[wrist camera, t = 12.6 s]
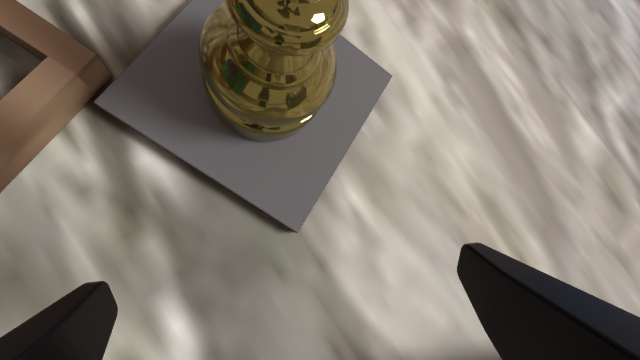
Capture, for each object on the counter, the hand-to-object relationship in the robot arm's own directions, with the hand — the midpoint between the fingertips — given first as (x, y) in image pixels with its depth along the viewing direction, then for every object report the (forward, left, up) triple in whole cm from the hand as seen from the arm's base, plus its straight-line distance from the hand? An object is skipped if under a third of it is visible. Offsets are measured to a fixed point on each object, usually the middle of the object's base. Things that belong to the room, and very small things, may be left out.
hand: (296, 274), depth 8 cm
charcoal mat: (+9, +5, -12) cm, 16 cm away
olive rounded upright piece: (+9, +5, -12) cm, 15 cm away
